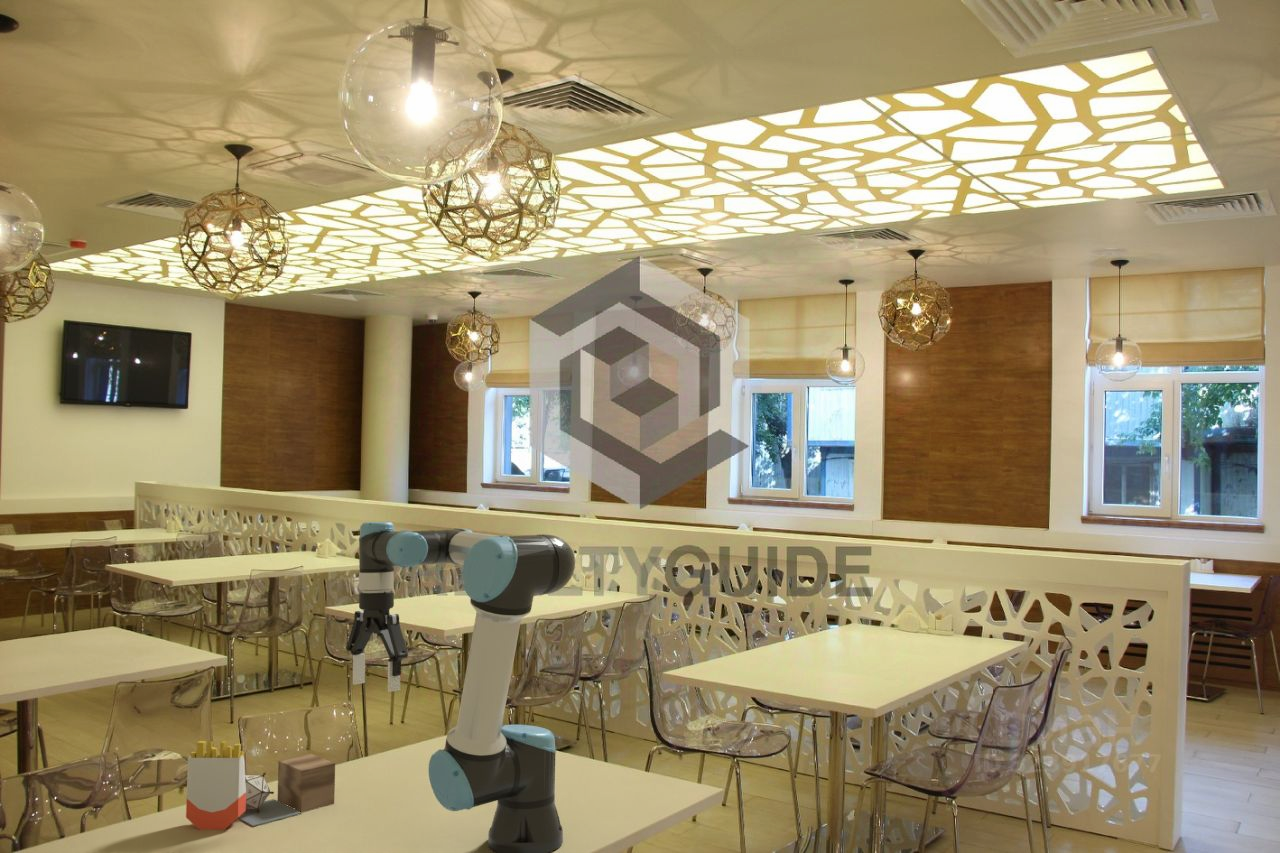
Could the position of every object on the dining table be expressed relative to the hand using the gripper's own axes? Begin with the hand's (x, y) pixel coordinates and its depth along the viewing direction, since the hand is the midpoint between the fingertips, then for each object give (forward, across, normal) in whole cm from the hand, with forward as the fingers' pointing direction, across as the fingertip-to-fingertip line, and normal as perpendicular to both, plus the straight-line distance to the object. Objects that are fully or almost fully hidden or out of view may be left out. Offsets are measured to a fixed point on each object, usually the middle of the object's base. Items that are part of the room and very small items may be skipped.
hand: (376, 687), depth 216 cm
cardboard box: (+27, +18, +6) cm, 33 cm away
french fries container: (+27, +19, +27) cm, 43 cm away
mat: (+27, +18, +16) cm, 36 cm away
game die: (+21, +21, +14) cm, 33 cm away
